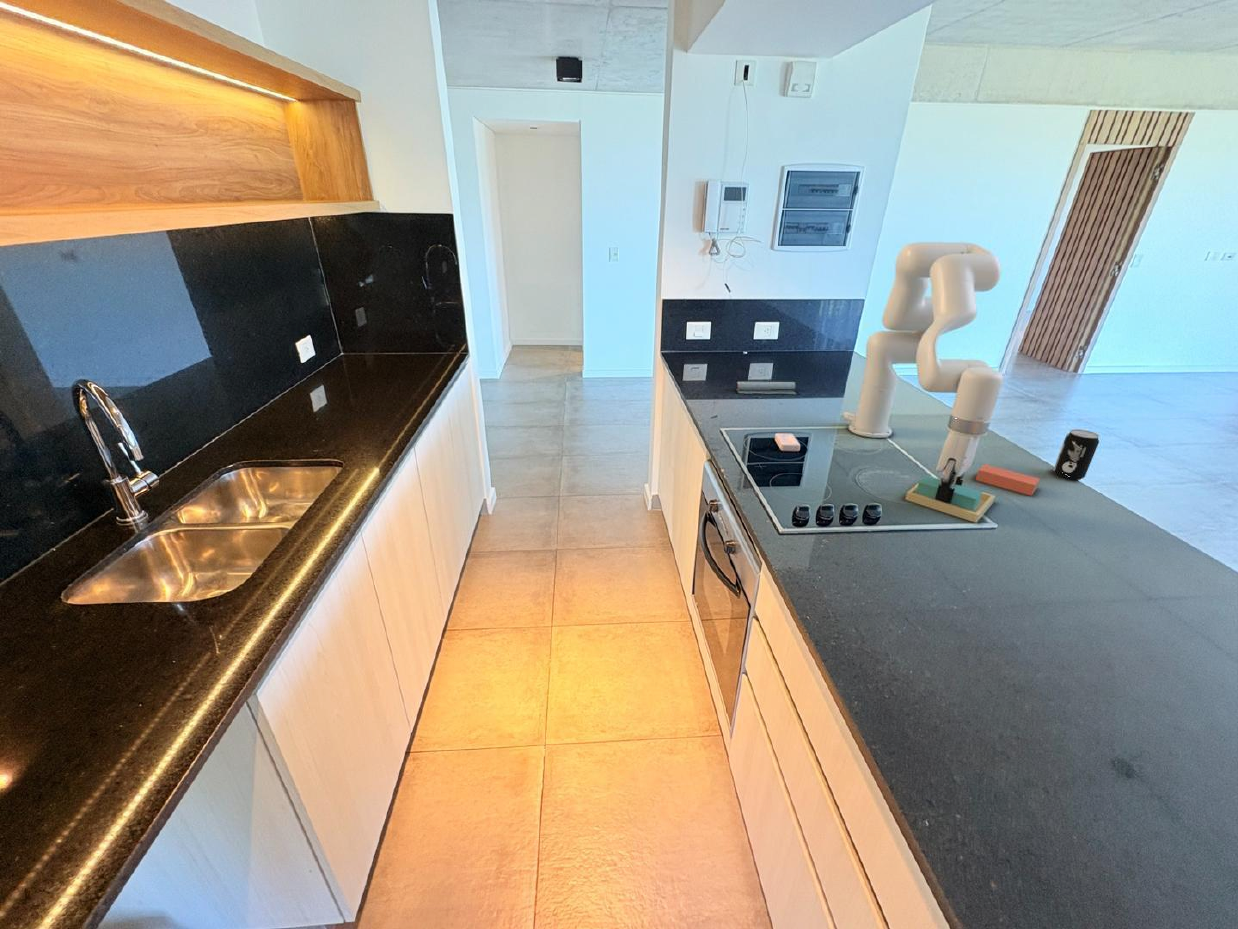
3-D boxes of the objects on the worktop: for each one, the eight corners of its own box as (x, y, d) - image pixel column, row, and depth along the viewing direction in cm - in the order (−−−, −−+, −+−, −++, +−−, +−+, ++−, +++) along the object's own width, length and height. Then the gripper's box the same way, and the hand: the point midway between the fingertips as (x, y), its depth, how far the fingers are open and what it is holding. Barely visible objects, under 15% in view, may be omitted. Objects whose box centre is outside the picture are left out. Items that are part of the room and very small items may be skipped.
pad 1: (915, 492, 126) (918, 481, 125) (923, 486, 129) (926, 475, 128) (972, 511, 118) (976, 499, 117) (979, 503, 122) (982, 492, 120)
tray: (905, 499, 127) (907, 492, 126) (924, 482, 135) (926, 475, 135) (976, 523, 117) (978, 515, 116) (992, 503, 125) (995, 495, 125)
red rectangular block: (975, 480, 137) (978, 469, 135) (981, 474, 140) (984, 464, 139) (1031, 496, 129) (1035, 485, 127) (1035, 489, 132) (1039, 478, 131)
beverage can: (1089, 482, 135) (1107, 438, 130) (1060, 480, 137) (1077, 437, 132) (1074, 471, 141) (1091, 429, 136) (1047, 469, 142) (1062, 427, 137)
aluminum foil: (792, 389, 211) (793, 380, 209) (797, 394, 204) (798, 385, 203) (735, 388, 211) (736, 380, 210) (738, 393, 205) (739, 385, 204)
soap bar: (781, 451, 154) (782, 444, 153) (774, 440, 162) (775, 432, 161) (799, 452, 154) (800, 444, 153) (792, 440, 162) (793, 432, 161)
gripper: (961, 411, 124) (941, 480, 132) (936, 429, 113) (916, 504, 121) (998, 419, 119) (975, 491, 127) (975, 439, 108) (952, 516, 116)
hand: (946, 496), depth 124 cm, fingers closed on pad 1, 5 cm apart
